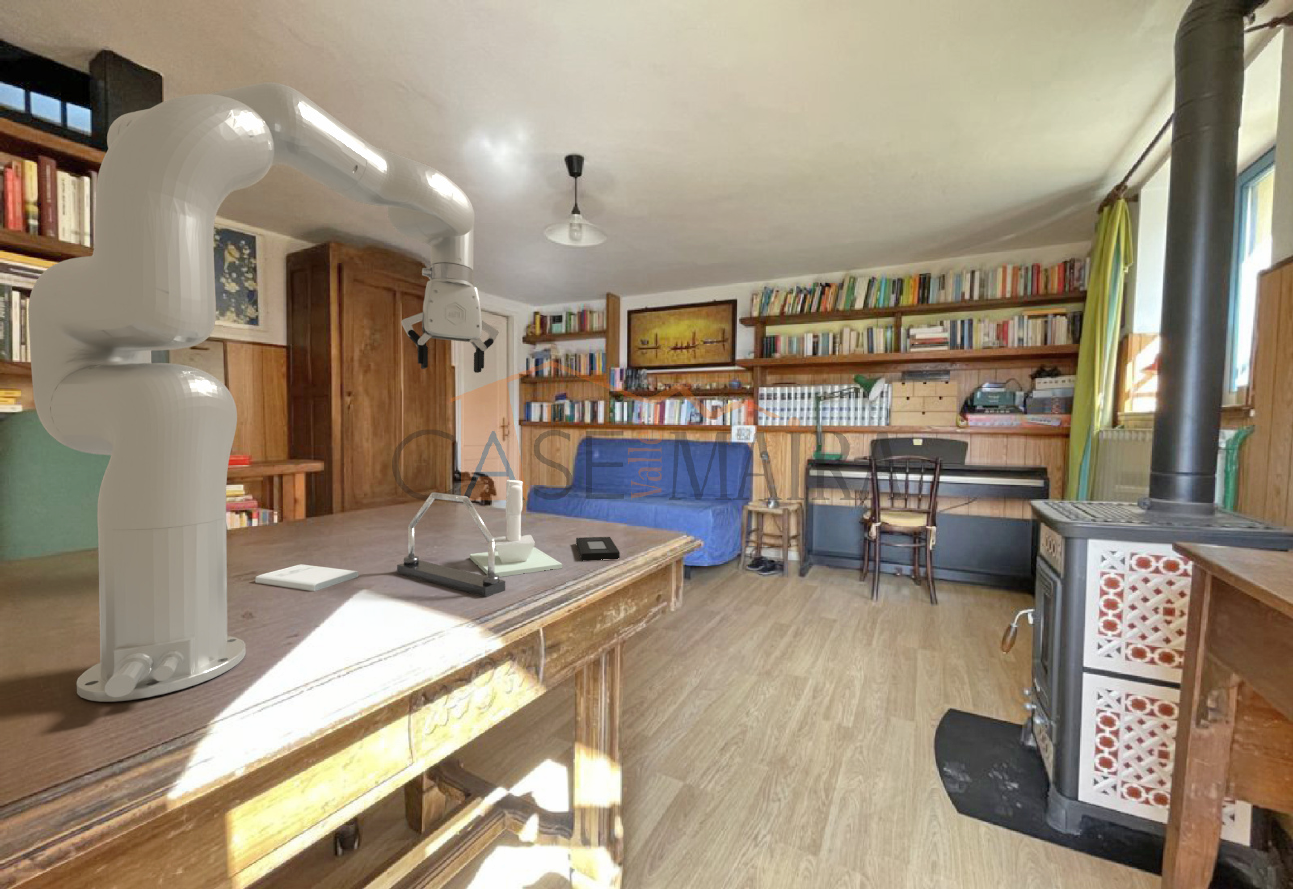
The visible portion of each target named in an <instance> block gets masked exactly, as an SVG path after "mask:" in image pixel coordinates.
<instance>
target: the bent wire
mask: <svg viewBox="0 0 1293 889" xmlns="http://www.w3.org/2000/svg"><path fill="white" fill-rule="evenodd" d="M435 499H436V500H443V501H450V502H451V501H452V502H457V503H463V504H464V506H465V507H466V509H467V510H468V512H469V514H470V515H471V517H472V519H473V521H474V522H475V524H476V526H477V527H478V529H479V531H480V532H481V534H482V535H483V537H484V538H485V540H486V541H487V552H488V575H487V574H486V575H485V574H483V575H482V574H478V573H474V572H471V571H466V570H462V569H457V568H453V567H448V566H446V565H440V564H437V563H433V562H428V561H423V560H420V557H419V556H418V555H415V536H416V535H415V533H416V532H415V527H416V526H417V525H418V523H419V522H420V521H421V518H423V516H424V515H425V513H426V512H427V510H428V509H429V508H430V506H431V505H432V503H433V502H434V501H435ZM407 528H408V529H407V531H408V532H407V533H408V534H407V536H408V537H407V539H408V540H407V542H408V543H407V544H408V545H407V548H408V549H407V556H405V557H403V563H399V564H397V565H396V573H397V574H398V575H402V576H406V577H409V578H413V579H417V580H420V581H424V582H428V583H432V584H435V585H439V586H443V587H446V588H450V589H453V590H457V591H461V592H463V593H464V592H465V593H467V594H472V595H475V596H476V595H477V596H479V597H483V598H487V597H490V596H493V595H495V594H499V593H501V592H504V591H506V580H504V579H500V577H499V575H496V574H495V551H496V548H495V540H494V538H493V537H494V536H493V535H492V534H491V532H490V530H489V529H488V527H487V525H486V524H485V523H484V520H483V519H482V517H481V516H480V514H479V512H478V511H477V510H476V508H475V506H474V505H473V502H472V501H471V500H470V498H469V497H468V496H466V495H460V494H459V495H457V494H449V493H442V492H441V493H440V492H431V493H430V495H429V496H428V497H427V499H426V500H425V501H424V503H423V504H422V506H421V507H420V509H419V510H418V511H417V513H416V514H415V516H414V517H413V519H412V520H411V521H410V523H409V524H408V527H407Z"/></svg>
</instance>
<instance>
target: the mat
mask: <svg viewBox="0 0 1293 889" xmlns="http://www.w3.org/2000/svg"><path fill="white" fill-rule="evenodd" d="M469 559H470V560H471V561H472V562H473V563H474V564H475V565H476V566H477V565H478V566H477V567H478V568H479V569H480V570H482V571H483V573H485V574H486V575H488V551H485V552H477V553H469ZM550 569H553V570H559V569H563V563H561V562H560V561H558V560H557V559H555V558H553V557H551V556H550V555H548V554H546V553H545V552H543V551H542V550H540V549H539V548H537V547H535V546H534V547H533V549H532V551H531V553H530V555H529V557H528V559H527V561H524V562H509V563H502V562H501V559H500V557H499V555H498V552H497V550H495V574H496V575H499V578H501V577H502V578H504V577H509V576H516V575H523V573H525V574H531V573H537V572H544V570H546V571H551V570H550Z"/></svg>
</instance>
